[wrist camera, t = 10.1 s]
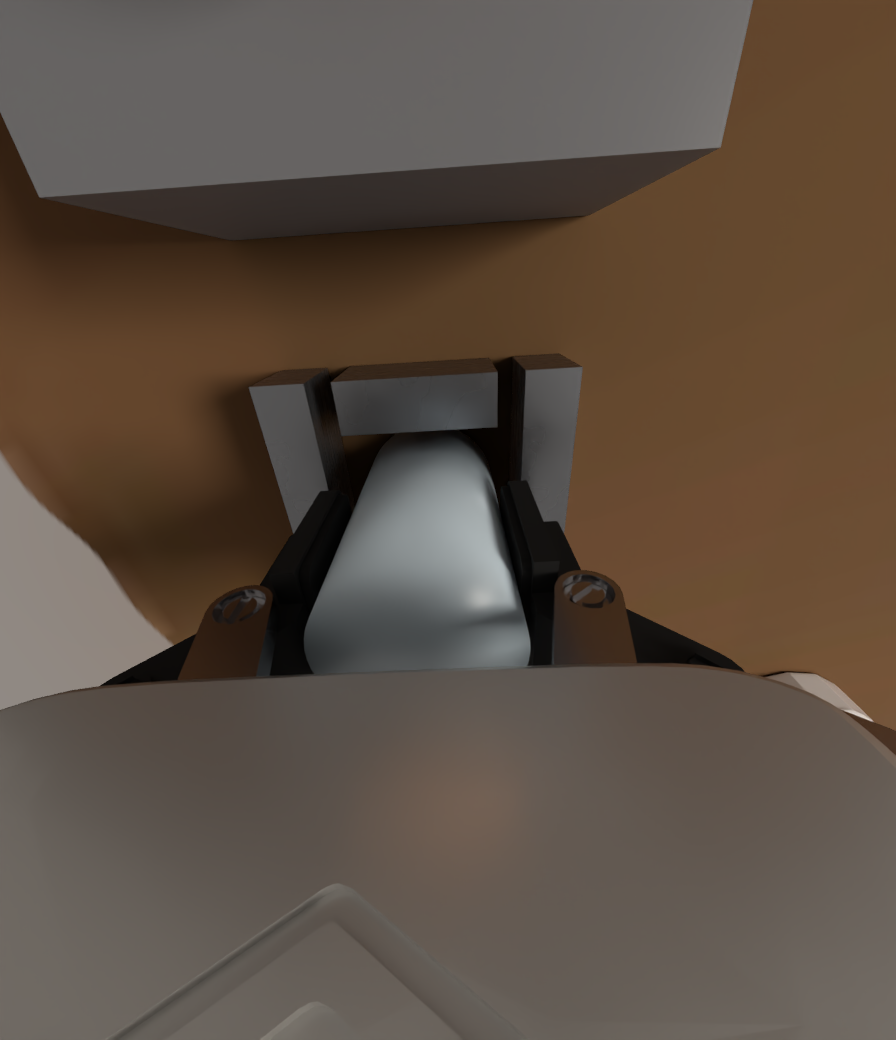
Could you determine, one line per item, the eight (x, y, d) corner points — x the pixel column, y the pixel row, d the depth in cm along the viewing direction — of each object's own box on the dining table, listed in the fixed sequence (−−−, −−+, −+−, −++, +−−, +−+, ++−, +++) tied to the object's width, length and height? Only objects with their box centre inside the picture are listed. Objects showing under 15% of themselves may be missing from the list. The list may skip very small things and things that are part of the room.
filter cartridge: (362, 427, 14) (276, 572, 7) (491, 420, 14) (537, 560, 7) (380, 535, 16) (330, 725, 9) (491, 530, 16) (525, 718, 9)
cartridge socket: (281, 370, 13) (248, 386, 11) (559, 353, 13) (582, 366, 10) (337, 584, 17) (321, 626, 15) (541, 574, 17) (554, 615, 15)
